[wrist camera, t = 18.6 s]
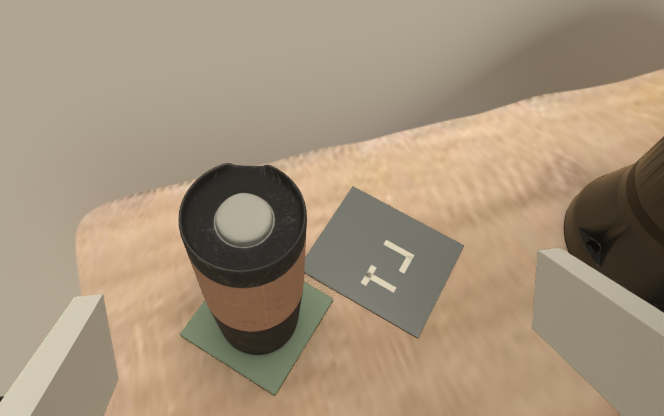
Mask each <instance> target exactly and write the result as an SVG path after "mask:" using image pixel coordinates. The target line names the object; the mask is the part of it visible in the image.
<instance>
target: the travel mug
mask: <svg viewBox="0 0 664 416" xmlns="http://www.w3.org/2000/svg"><path fill="white" fill-rule="evenodd" d="M306 225H307V213H306V206H305V202H304V199H303V196H302V194H301V192H300V190H299V188H298V187H297V186H296V184H295V183H294V182H293V181H292V180H291V179H290V178H289V177H288V176H287V175H286V174H284V173H283V172H282V171H280V170H279V169H277V168H275V167H273V166H271V165H264V166H240V165H239V166H238V165H233V164H231V163H225V164H222V165H219V166H217V167H215V168H213V169H211V170H209V171H208V172H206V173H204V174H203V175H202V176H200V177H199V178H198V179H197V180H196V181H195V182H194V183H193V184H192V185H191V187H190V188H189V189H188V191H187V192H186V194H185V196H184V198H183V200H182V203H181V206H180V210H179V230H180V234H181V238H182V240H183V243H184V246H185V248H186V251H187V253H188V256H189V259H190V261H191V264H192V266H193V269H194V272H195V274H196V277H197V280H198V282H199V285H200V287H201V290H202V293H203V295H204V298H205V300H206V303H207V305H208V307H209V309H210V311H211V313H212V315H213V317H214V319H215V321H216V323H217V324H218V326H219V328H220V330H221V332H222V334H223V335H224V337H225V338H226V340H227V341H228V342H229V343H230V344H231V345H232V346H233V347H234V348H236V349H237V350H239V351H241V352H243V353H246V354H251V355H264V354H268V353H271V352H274V351H276V350H278V349H279V348H281V347H282V346H284V345H285V344H286V343H287V342H288V341H289V339H290V338H291V337H292V335H293V333H294V331H295V329H296V326H297V323H298V318H299V312H300V306H301V300H302V294H303V286H304V268H305V246H306Z"/></svg>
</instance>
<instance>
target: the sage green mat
mask: <svg viewBox="0 0 664 416" xmlns="http://www.w3.org/2000/svg"><path fill="white" fill-rule="evenodd" d="M332 302H333V298H331V297H329V296H328V295H326V294H324V293H323V292H321V291H319V290H317V289H316V288H314V287H312V286H311V285H309V284H307V283H305V282H304V286H303V294H302V300H301V306H300V312H299V318H298V323H297V326H296V329H295V331H294V333H293V335H292V337H291V338H290V339H289V341H288V342H287V343H286V344H285V345H284V346H282V347H281V348H279V349H278V350H276V351H274V352H271V353H268V354H264V355H251V354H246V353H243V352H241V351H239V350H237V349H236V348H234V347H233V346H232V345H231V344H230V343H229V342H228V341H227V340H226V338H225V337H224V335H223V334H222V332H221V330H220V328H219V326H218V324H217V323H216V321H215V319H214V317H213V315H212V313H211V311H210V309H209V307H208V305H207V303H206V300H205V301H204V302H203V304H202V305H201V306H200V308H199V309H198V311H197V312H196V313H195V315H194V316H193V317H192V319H191V320H190V321H189V323H188V324H187V325H186V327H185V328H184V329H183V331H182V332H181V333H180V335H181V336H182V337H183V338H185V339H186V340H188V341H190V342H191V343H193V344H194V345H196V346H197V347H199V348H201V349H202V350H204V351H205V352H207V353H208V354H210V355H212V356H213V357H215V358H216V359H218V360H219V361H221V362H223V363H224V364H226V365H227V366H229V367H230V368H232V369H234V370H235V371H237V372H238V373H240V374H241V375H243V376H245V377H246V378H248V379H249V380H251V381H252V382H254V383H256V384H257V385H259V386H260V387H262V388H263V389H265V390H267V391H268V392H270V393H271V394H273V395H274V396H275V395H276V393H277V392H278V390H279V388H280V387H281V385H282V384H283V382H284V380H285V379H286V377H287V375H288V374H289V372H290V370H291V369H292V367H293V366H294V364H295V362H296V361H297V359H298V357H299V356H300V354H301V352H302V351H303V349H304V347H305V346H306V344H307V343H308V341H309V339H310V338H311V336H312V334H313V333H314V331H315V329H316V328H317V326H318V325H319V323H320V321H321V320H322V318H323V316H324V315H325V313H326V311H327V310H328V308H329V306H330V305H331V303H332Z"/></svg>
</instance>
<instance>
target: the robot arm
mask: <svg viewBox="0 0 664 416" xmlns="http://www.w3.org/2000/svg"><path fill="white" fill-rule="evenodd" d="M564 232H565V239H566V243H567V247H568V250H569V252H570V254H569V253H568V252H566V251H565V250H563V249H561V248H554V249H544V250H538V254H537V267H536V281H535V294H534V308H533V321H532V329H533V330H535V331H536V332H537V333H538V334H539V335H540V336H541V337H542V338H543V339H544V340H545V341H546V342H547V343H548V344H549V345H550V346H551V347H552V348H553V349H554V350H555V351H556V352H557V353H558V354H559V355H560V356H561V357H562V358H563V359H564V360H565V361H566V362H567V363H568V364H569V365H570V366H572V367H573V368H574V369H575V370H576V371H577V372H578V373H579V374H580V375H581V376H582V377H583V378H584V379H585V380H586V381H587V382H588V383H589V384H590V385H591V386H592V387H593V388H594V389H595V390H596V391H597V392H598V393H599V394H600V395H601V396H602V397H603V398H604V399H605V400H606V401H608V402H609V403H610V404H611V405H612V406H613V407H614V408H615V409H616V410H617V411H618V412H619V413H620V414H621V415H622V416H664V137H663V138H662V139H660V140H659V141H658V142H657V143H656V144H655V145H654V146H653V147H652V148H651V149H650V150H649V151H648V152H647V153H645V154H644V155H643V156H642V157H641V158H640V159H639V160H638V161H637V162H636V163H635V164H632V165H629V166H627V167H624V168H622V169H619V170H617V171H614V172H612V173H610V174H607V175H604V176H601V177H599V178H597V179H595V180H594V181H592V182H591V183H590V184H588V185H587V186H586V187H585V188H584V189H583V190H582V191H581V192H580V193H579V194H578V195H577V196H576V197H575V198H574V200H573V201H572V202H571V204H570V206H569V208H568V210H567V213H566V217H565V223H564ZM118 379H119V378H118V373H117V367H116V362H115V356H114V351H113V346H112V340H111V335H110V329H109V324H108V319H107V313H106V308H105V302H104V297H103V294H100V295H90V296H81V297H74V299H73V300H72V301H71V303H70V304H69V306H68V307H67V308H66V310H65V311H64V313H63V314H62V316H61V317H60V318H59V320H58V321H57V323H56V324H55V326H54V327H53V328H52V330H51V331H50V333H49V334H48V335H47V337H46V338H45V340H44V341H43V343H42V344H41V345H40V347H39V348H38V350H37V351H36V352H35V354H34V355H33V357H32V358H31V359H30V361H29V363H28V364H27V365H26V367H25V368H24V369H23V371H22V372H21V374H20V375H19V376H18V378H17V379H16V381H15V382H14V384H13V385H12V386H11V388H10V389H9V391H8V392H7V393H6V395H5V396H3V397H0V416H104V414H105V411H106V409H107V406H108V404H109V401H110V399H111V396H112V394H113V391H114V389H115V386H116V384H117V381H118Z"/></svg>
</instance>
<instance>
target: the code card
mask: <svg viewBox="0 0 664 416" xmlns="http://www.w3.org/2000/svg"><path fill="white" fill-rule="evenodd" d="M463 247H464V245H462V244H460V243H458V242H456V241H455V240H453V239H451V238H449V237H447V236H445V235H443V234H441V233H440V232H438V231H436V230H434V229H432V228H430V227H428V226H426V225H425V224H423V223H421V222H419V221H417V220H415V219H413V218H411V217H410V216H408V215H406V214H404V213H402V212H400V211H398V210H396V209H395V208H393V207H391V206H389V205H387V204H385V203H383V202H381V201H380V200H378V199H376V198H374V197H372V196H370V195H368V194H366V193H365V192H363V191H361V190H359V189H357V188H355V187H352V188H351V190H350V191H349V193H348V194H347V196H346V197H345V199H344V200H343V202H342V203H341V205H340V206H339V208H338V209H337V211H336V212H335V214H334V215H333V217H332V218H331V220H330V221H329V223H328V224H327V226H326V227H325V229H324V230H323V232H322V233H321V235H320V236H319V238H318V239H317V241H316V242H315V244H314V245H313V247H312V248H311V250H310V251H309V253H308V254H307V256H306V257H305V268H304V273H306V274H307V275H309V276H311V277H312V278H314V279H316V280H318V281H319V282H321V283H323V284H325V285H326V286H328V287H330V288H331V289H333V290H335V291H337V292H338V293H340V294H342V295H344V296H345V297H347V298H349V299H350V300H352V301H354V302H356V303H357V304H359V305H361V306H363V307H364V308H366V309H368V310H369V311H371V312H373V313H375V314H376V315H378V316H380V317H382V318H383V319H385V320H387V321H388V322H390V323H392V324H394V325H395V326H397V327H399V328H401V329H402V330H404V331H406V332H407V333H409V334H411V335H413V336H414V337H416V338H418V337H419V335H420V333H421V331H422V329H423V327H424V325H425V323H426V321H427V319H428V317H429V315H430V313H431V311H432V309H433V307H434V305H435V303H436V301H437V299H438V297H439V295H440V293H441V291H442V289H443V287H444V285H445V283H446V281H447V279H448V277H449V275H450V273H451V271H452V269H453V267H454V265H455V263H456V261H457V259H458V257H459V255H460V253H461V251H462V249H463Z"/></svg>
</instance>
